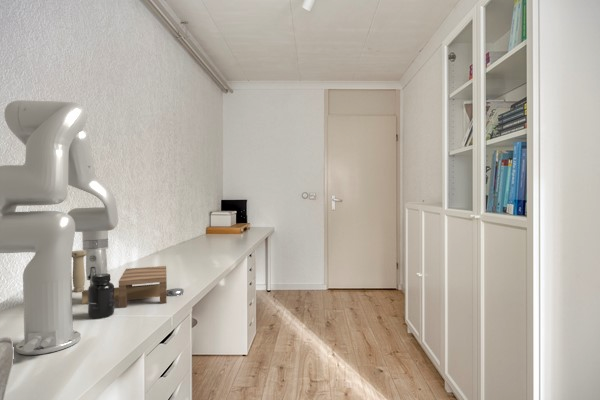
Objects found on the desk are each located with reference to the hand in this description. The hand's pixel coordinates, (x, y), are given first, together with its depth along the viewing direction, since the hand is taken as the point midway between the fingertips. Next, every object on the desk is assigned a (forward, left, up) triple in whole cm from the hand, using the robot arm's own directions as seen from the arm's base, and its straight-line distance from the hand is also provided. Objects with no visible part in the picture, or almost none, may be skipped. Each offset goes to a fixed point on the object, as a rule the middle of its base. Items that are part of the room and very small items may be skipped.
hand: (96, 298), depth 123 cm
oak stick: (0, -8, -1) cm, 8 cm away
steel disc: (0, -25, -1) cm, 25 cm away
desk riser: (0, -15, -1) cm, 15 cm away
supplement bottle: (-17, -4, -1) cm, 17 cm away
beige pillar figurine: (+19, +9, -1) cm, 21 cm away
